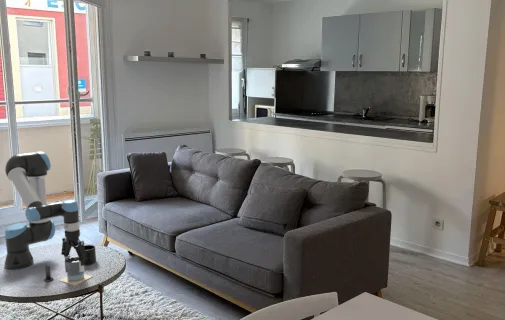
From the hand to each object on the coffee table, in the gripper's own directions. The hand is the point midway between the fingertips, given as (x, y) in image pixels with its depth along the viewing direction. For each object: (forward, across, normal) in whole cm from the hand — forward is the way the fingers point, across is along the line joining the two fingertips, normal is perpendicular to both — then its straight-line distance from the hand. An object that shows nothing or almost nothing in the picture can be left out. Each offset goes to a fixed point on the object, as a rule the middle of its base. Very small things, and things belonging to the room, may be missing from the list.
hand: (75, 269), depth 260 cm
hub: (+6, 0, 0) cm, 6 cm away
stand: (+6, -12, -8) cm, 15 cm away
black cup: (+6, -11, +19) cm, 23 cm away
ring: (0, 0, 0) cm, 0 cm away
